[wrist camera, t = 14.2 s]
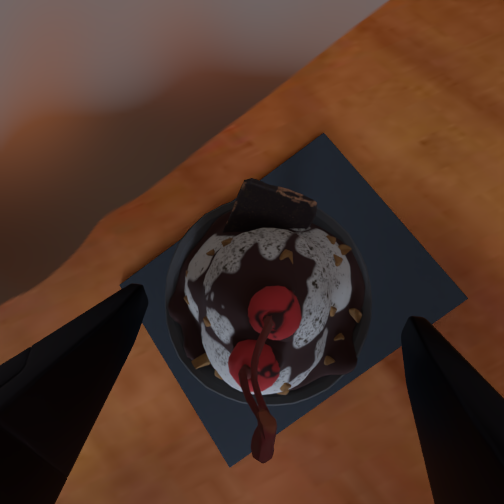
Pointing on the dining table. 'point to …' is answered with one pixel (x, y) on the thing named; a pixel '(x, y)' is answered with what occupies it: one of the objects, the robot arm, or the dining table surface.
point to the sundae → (267, 302)
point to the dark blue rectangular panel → (380, 274)
